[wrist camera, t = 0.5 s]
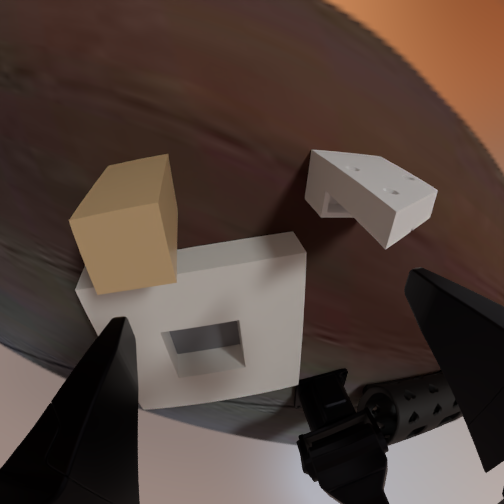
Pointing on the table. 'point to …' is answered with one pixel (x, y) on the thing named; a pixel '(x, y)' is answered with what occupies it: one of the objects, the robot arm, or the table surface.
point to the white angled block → (368, 193)
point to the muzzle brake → (410, 405)
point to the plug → (129, 226)
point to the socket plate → (214, 322)
